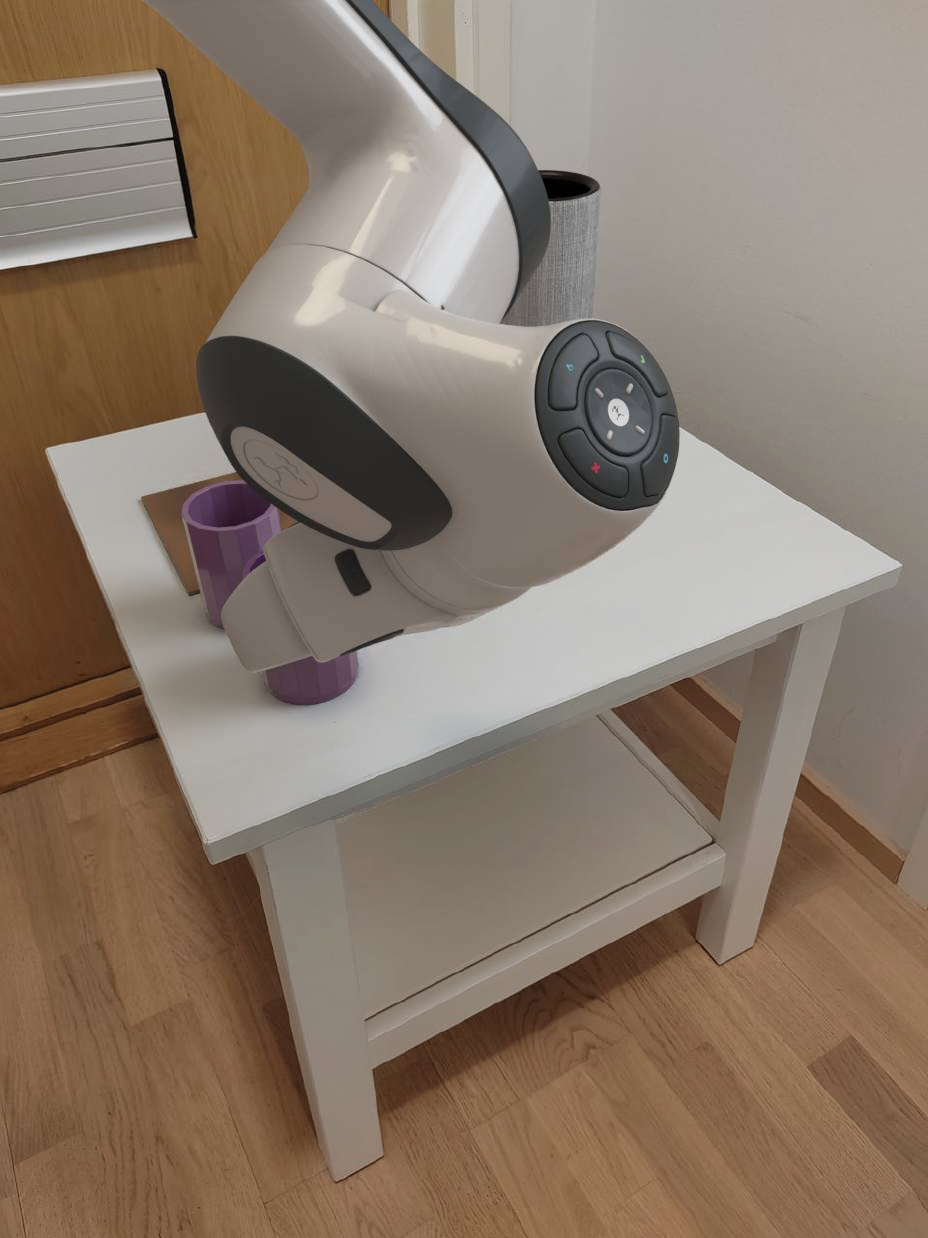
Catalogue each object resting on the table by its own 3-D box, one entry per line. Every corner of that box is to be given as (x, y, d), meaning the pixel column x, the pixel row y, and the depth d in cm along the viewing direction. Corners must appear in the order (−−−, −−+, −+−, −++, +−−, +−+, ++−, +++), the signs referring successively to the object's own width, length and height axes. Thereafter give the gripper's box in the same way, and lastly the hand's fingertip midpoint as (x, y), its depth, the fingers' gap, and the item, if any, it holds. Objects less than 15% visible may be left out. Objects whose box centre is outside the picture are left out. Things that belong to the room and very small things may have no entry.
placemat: (189, 595, 83) (188, 592, 82) (141, 499, 95) (140, 496, 95) (398, 532, 90) (398, 529, 89) (328, 451, 102) (328, 447, 102)
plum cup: (248, 695, 73) (224, 591, 66) (287, 635, 78) (269, 533, 72) (338, 712, 71) (323, 607, 65) (372, 649, 77) (361, 546, 70)
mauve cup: (190, 624, 80) (164, 523, 73) (230, 573, 85) (208, 475, 79) (271, 637, 78) (252, 536, 72) (306, 585, 84) (291, 486, 77)
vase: (547, 427, 105) (557, 163, 89) (602, 465, 99) (624, 187, 82) (470, 451, 102) (465, 180, 85) (521, 492, 95) (527, 207, 78)
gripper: (574, 419, 52) (471, 497, 65) (235, 549, 43) (190, 612, 56) (624, 522, 52) (511, 581, 65) (295, 675, 43) (237, 709, 56)
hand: (361, 596), depth 60 cm, fingers open, 8 cm apart
